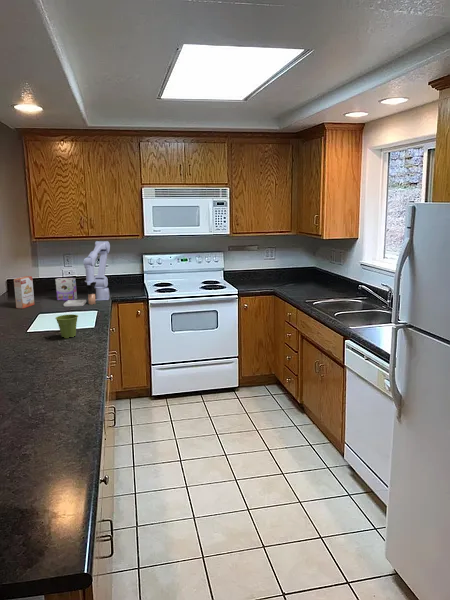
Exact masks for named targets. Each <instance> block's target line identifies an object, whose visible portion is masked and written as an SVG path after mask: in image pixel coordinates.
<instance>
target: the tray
mask: <svg viewBox="0 0 450 600" xmlns="http://www.w3.org/2000/svg"><path fill="white" fill-rule="evenodd" d="M86 303H87V299H76V300H68V301H65V302H64V303H63V307H83V306H84V305H85V304H86Z"/></svg>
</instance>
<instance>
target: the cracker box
mask: <svg viewBox="0 0 450 600" xmlns="http://www.w3.org/2000/svg"><path fill="white" fill-rule="evenodd" d="M13 287H14V298H15V308H16V309H21V310H22V309H25V308H26V309H27V308H29V307H31V306H35V296H34V295H35V294H34V283H33V276H30V275H28V276H27V275H26V276H25V275H24V276H21V277H17V278H14V279H13Z"/></svg>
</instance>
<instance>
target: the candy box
mask: <svg viewBox="0 0 450 600" xmlns="http://www.w3.org/2000/svg"><path fill="white" fill-rule="evenodd" d="M54 282H55V283H54V285H55V291H56V301H57V300H60V301H65V302H66V301H68V300H78V295H77V282H76V277H63V278H62V277H58V278H55V279H54Z"/></svg>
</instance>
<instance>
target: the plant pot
mask: <svg viewBox="0 0 450 600" xmlns="http://www.w3.org/2000/svg"><path fill="white" fill-rule="evenodd" d="M78 317H79V315H78V314H63V315H58V316H55V318H54V319H55V320H56V322H57V324H58V328H59V332H60V335H61V338H62V337H64V338H63V339H70V338H69V337H73V338H74V336H75V337H76V336H77V335H76V334H77V325H78V324H77V323H78Z"/></svg>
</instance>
